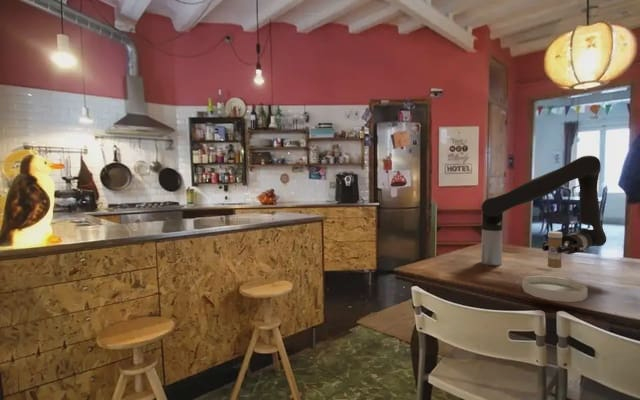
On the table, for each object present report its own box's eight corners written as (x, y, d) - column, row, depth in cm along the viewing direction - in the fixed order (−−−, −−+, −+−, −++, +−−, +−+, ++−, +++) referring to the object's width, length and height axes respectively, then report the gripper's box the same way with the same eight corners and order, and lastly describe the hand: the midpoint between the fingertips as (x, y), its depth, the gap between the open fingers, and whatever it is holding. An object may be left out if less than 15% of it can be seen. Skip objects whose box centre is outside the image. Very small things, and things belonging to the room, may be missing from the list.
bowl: (527, 298, 131) (527, 288, 130) (519, 282, 149) (520, 274, 149) (593, 304, 123) (594, 294, 123) (577, 287, 141) (577, 278, 141)
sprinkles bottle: (546, 267, 135) (546, 232, 134) (548, 264, 138) (548, 230, 137) (561, 269, 132) (561, 233, 131) (562, 266, 136) (563, 231, 135)
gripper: (552, 231, 148) (531, 236, 139) (593, 236, 136) (573, 242, 127) (552, 249, 149) (531, 255, 140) (593, 255, 137) (572, 262, 128)
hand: (551, 249), depth 133 cm, fingers closed on sprinkles bottle, 4 cm apart
